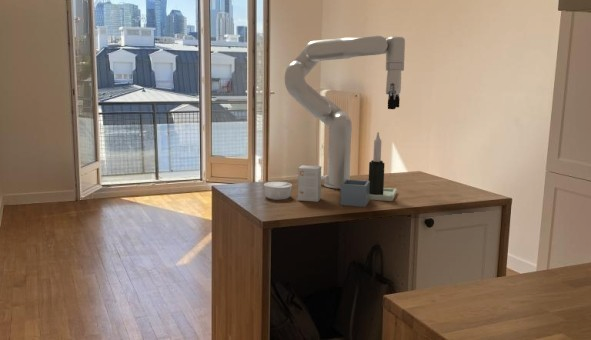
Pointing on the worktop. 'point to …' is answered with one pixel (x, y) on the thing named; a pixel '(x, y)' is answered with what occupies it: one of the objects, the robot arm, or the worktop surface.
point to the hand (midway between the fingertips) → (393, 108)
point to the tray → (384, 195)
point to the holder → (355, 192)
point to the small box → (309, 183)
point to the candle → (376, 169)
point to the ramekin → (277, 190)
